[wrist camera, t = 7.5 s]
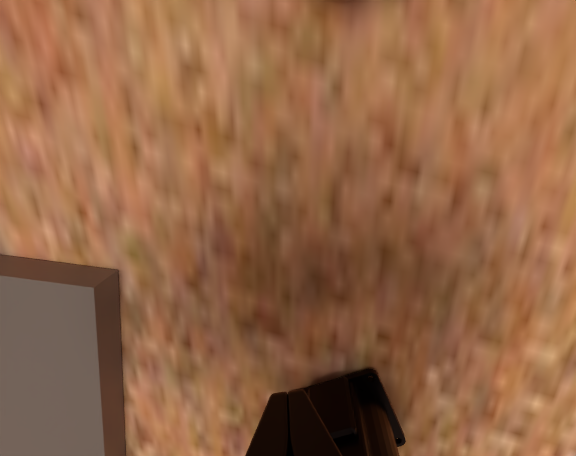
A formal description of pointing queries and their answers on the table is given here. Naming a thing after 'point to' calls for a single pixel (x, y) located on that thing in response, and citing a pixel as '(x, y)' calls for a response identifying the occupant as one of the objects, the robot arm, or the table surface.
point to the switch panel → (60, 360)
